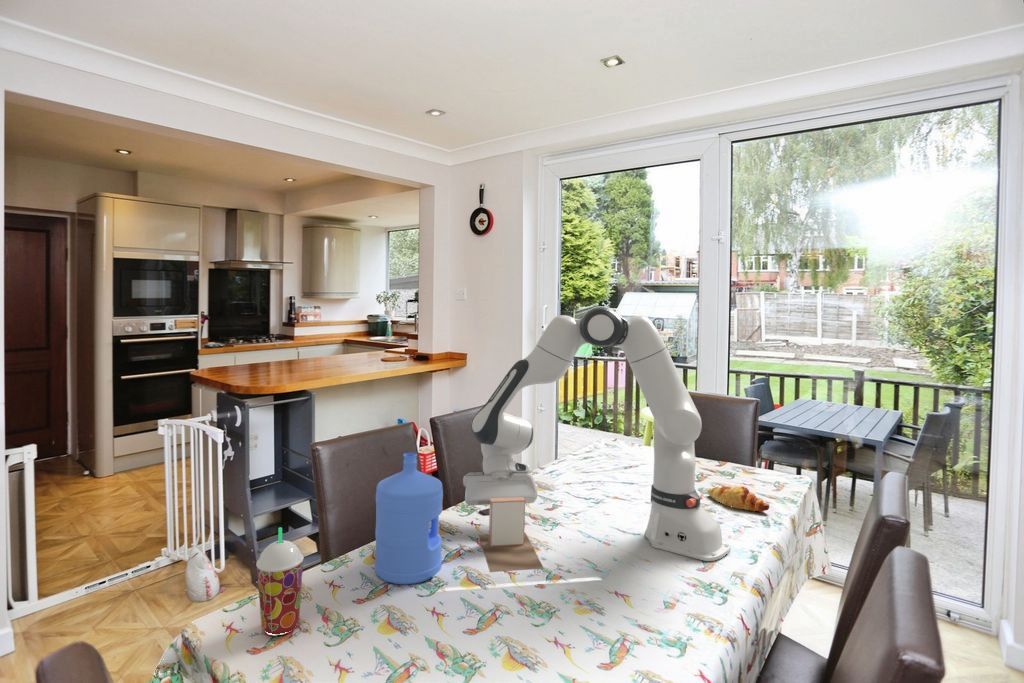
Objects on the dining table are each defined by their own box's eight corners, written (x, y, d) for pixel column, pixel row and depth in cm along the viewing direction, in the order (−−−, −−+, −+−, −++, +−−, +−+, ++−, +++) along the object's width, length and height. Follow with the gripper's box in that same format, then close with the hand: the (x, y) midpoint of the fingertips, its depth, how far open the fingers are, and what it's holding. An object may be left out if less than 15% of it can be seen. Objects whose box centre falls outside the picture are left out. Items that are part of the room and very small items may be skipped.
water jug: (384, 592, 122) (385, 467, 120) (368, 561, 136) (369, 449, 134) (451, 577, 129) (453, 459, 127) (429, 550, 143) (430, 443, 141)
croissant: (702, 507, 189) (697, 489, 186) (716, 488, 194) (711, 470, 192) (764, 526, 173) (759, 506, 170) (778, 505, 178) (773, 485, 176)
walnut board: (478, 537, 152) (478, 534, 152) (525, 535, 154) (525, 532, 154) (490, 575, 131) (490, 571, 131) (543, 571, 133) (543, 568, 133)
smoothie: (266, 616, 112) (265, 519, 110) (308, 615, 112) (308, 519, 111) (249, 642, 103) (249, 537, 102) (296, 641, 104) (296, 536, 103)
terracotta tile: (488, 542, 147) (489, 498, 146) (522, 540, 148) (523, 496, 148) (490, 547, 144) (491, 501, 143) (524, 545, 146) (525, 500, 145)
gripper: (463, 467, 155) (466, 514, 147) (534, 465, 159) (542, 511, 150) (461, 478, 160) (464, 524, 151) (531, 475, 164) (537, 521, 155)
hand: (503, 518), depth 151 cm, fingers closed
